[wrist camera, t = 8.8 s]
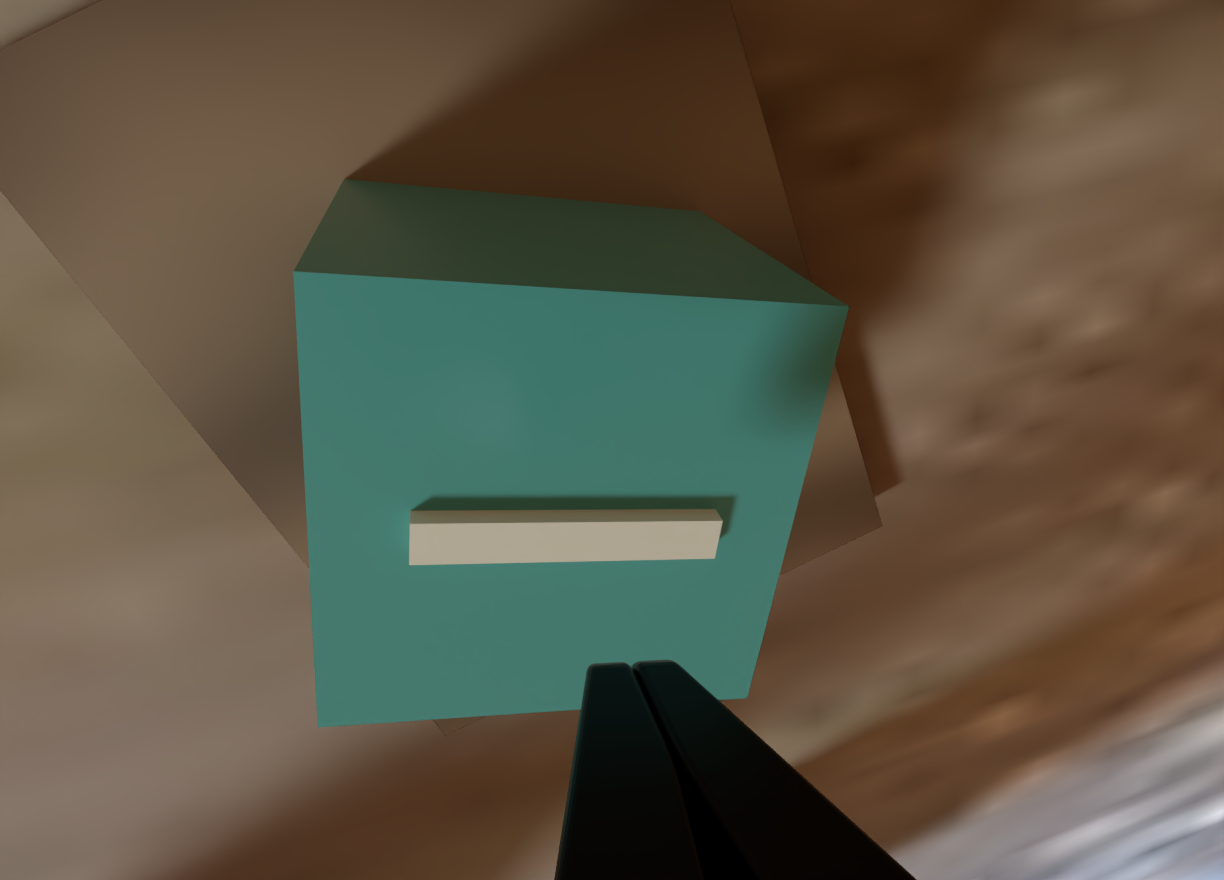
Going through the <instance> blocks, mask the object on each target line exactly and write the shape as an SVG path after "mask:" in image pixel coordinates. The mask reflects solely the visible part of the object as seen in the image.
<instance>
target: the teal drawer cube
mask: <svg viewBox="0 0 1224 880" xmlns="http://www.w3.org/2000/svg"><path fill="white" fill-rule="evenodd" d="M293 275H294V294H295V312H296V331H297V350H298V368H299V387H300V405H301V424H302V443H303V461H304V480H305V499H306V517H307V536H308V555H309V573H310V592H311V610H312V629H313V648H314V666H315V685H316V704H317V722H318V727H330V726H345V725H360V724H374V723H389V722H404V721H418V720H433V719H448V718H462V717H477V716H492V715H507V714H521V713H536V712H551V711H565V710H580V709H581V704H582V697H583V691H584V684H585V678H586V672H587V668H588V667H589V665H591V664H594V663H611V662H625V663H627V664H628V665H630V666H632V665H633V664H634V663H636V662H637V661H647V660H666V659H668V660H673V661H674V662H676V663H678V664H679V665H680V666H681V667H683V668H684V669H685V670H686V671H687V672H688V673H689V674H690V675H691V676H692V677H694V678H695V679H696V680H697V681H698V682H699V683H700V684H701V685H702V686H703V687H705V688H706V689H707V690H708V691H709V692H710V693H711V694H712V695H713V696H715V697H716V698H717V699H718V700H727V699H742V698H747V697H748V693H749V689H750V685H751V681H752V678H753V674H754V670H755V666H756V662H757V658H758V655H759V651H760V647H761V643H762V639H763V635H764V632H765V628H766V624H767V620H768V616H769V612H770V609H771V605H772V601H773V597H774V593H775V589H776V586H777V582H778V578H779V574H780V570H781V566H782V563H783V559H784V555H785V551H786V547H787V543H788V540H789V536H790V532H791V528H792V524H793V520H794V516H795V513H796V509H797V505H798V501H799V497H800V493H801V490H802V486H803V482H804V478H805V474H806V470H807V467H808V463H809V459H810V455H811V451H812V447H813V444H814V440H815V436H816V432H817V428H818V424H819V421H820V417H821V413H822V409H823V405H824V401H825V398H826V394H827V390H828V386H829V382H830V378H831V375H832V371H833V367H834V363H835V359H836V355H837V352H838V348H839V344H840V340H841V336H842V332H843V329H844V325H845V321H846V317H847V313H848V309H849V306H847V305H846V304H844V303H843V302H841V301H840V300H838V299H836V298H835V297H833V296H832V295H830V294H829V293H827V292H826V291H824V290H822V289H821V288H819V287H818V286H816V285H815V284H813V283H811V282H810V281H808V280H807V279H805V278H804V277H802V276H800V275H799V274H797V273H796V272H794V271H793V270H791V269H789V268H788V267H786V266H785V265H783V264H782V263H780V262H778V261H777V260H775V259H774V258H772V257H771V256H769V255H768V254H766V253H764V252H763V251H761V250H760V249H758V248H757V247H755V246H753V245H752V244H750V243H749V242H747V241H746V240H744V239H742V238H741V237H739V236H738V235H736V234H735V233H733V232H731V231H730V230H728V229H727V228H725V227H724V226H722V225H720V224H719V223H717V222H716V221H714V220H713V219H711V218H709V217H708V216H706V215H705V214H703V213H702V212H700V211H690V210H679V209H668V208H657V207H646V206H635V205H624V204H613V203H602V202H591V201H580V200H570V199H559V198H548V197H537V196H526V195H515V194H504V193H493V192H482V191H471V190H460V189H449V188H438V187H427V186H416V185H405V184H394V183H383V182H372V181H361V180H351V179H344V180H343V182H342V184H341V186H340V187H339V189H338V191H337V193H336V195H335V196H334V198H333V200H332V202H331V204H330V206H329V207H328V209H327V211H326V213H325V215H324V216H323V218H322V220H321V222H320V224H319V226H318V227H317V229H316V231H315V233H314V235H313V236H312V238H311V240H310V242H309V244H308V246H307V247H306V249H305V251H304V253H303V255H302V256H301V258H300V260H299V262H298V264H297V266H296V267H295V269H294V271H293Z"/></svg>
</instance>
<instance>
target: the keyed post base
mask: <svg viewBox="0 0 1224 880" xmlns="http://www.w3.org/2000/svg"><path fill="white" fill-rule="evenodd" d="M344 179H351V180H361V181H372V182H383V183H394V184H405V185H416V186H427V187H438V188H449V189H460V190H471V191H482V192H493V193H504V194H515V195H526V196H537V197H548V198H559V199H570V200H580V201H591V202H602V203H613V204H624V205H635V206H646V207H657V208H668V209H679V210H690V211H700V212H702V213H703V214H705V215H706V216H708V217H709V218H711V219H713V220H714V221H716V222H717V223H719V224H720V225H722V226H724V227H725V228H727V229H728V230H730V231H731V232H733V233H735V234H736V235H738V236H739V237H741V238H742V239H744V240H746V241H747V242H749V243H750V244H752V245H753V246H755V247H757V248H758V249H760V250H761V251H763V252H764V253H766V254H768V255H769V256H771V257H772V258H774V259H775V260H777V261H778V262H780V263H782V264H783V265H785V266H786V267H788V268H789V269H791V270H793V271H794V272H796V273H797V274H799V275H800V276H802V277H804V278H805V279H807V280H808V281H810V282H811V279H810V275H809V272H808V268H807V265H806V261H805V258H804V255H803V251H802V248H801V244H800V241H799V237H798V234H797V230H796V227H795V224H794V220H793V217H792V213H791V210H790V206H789V203H788V200H787V196H786V193H785V189H784V186H783V182H782V179H781V175H780V172H779V169H778V165H777V162H776V158H775V155H774V151H773V148H772V144H771V141H770V138H769V134H768V131H767V127H766V124H765V120H764V117H763V114H762V110H761V107H760V103H759V100H758V96H757V93H756V89H755V86H754V83H753V79H752V76H751V72H750V69H749V65H748V62H747V58H746V55H745V52H744V48H743V45H742V41H741V38H740V34H739V31H738V28H737V24H736V21H735V17H734V14H733V10H732V7H731V3H730V0H101V1H99V2H97V3H95V4H93V5H91V6H89V7H87V8H85V9H83V10H81V11H79V12H77V13H75V14H73V15H70V16H68V17H66V18H64V19H62V20H60V21H58V22H56V23H54V24H52V25H50V26H48V27H46V28H44V29H42V30H40V31H38V32H36V33H34V34H32V35H30V36H28V37H26V38H24V39H22V40H20V41H17V42H15V43H13V44H11V45H9V46H7V47H5V48H3V49H1V50H0V191H1V192H2V193H3V194H4V196H5V197H6V198H7V199H8V200H9V202H10V203H11V204H12V205H13V207H14V208H15V209H16V210H17V211H18V213H19V214H20V215H21V216H22V218H23V219H24V220H25V221H26V223H27V224H28V225H29V226H30V227H31V229H32V230H33V231H34V232H35V234H36V235H37V236H38V237H39V238H40V240H41V241H42V242H43V243H44V245H45V246H46V247H47V248H48V249H49V251H50V252H51V253H52V254H53V256H54V257H55V258H56V259H57V260H58V262H59V263H60V264H61V265H62V267H63V268H64V269H65V270H66V271H67V273H68V274H69V275H70V276H71V278H72V279H73V280H74V281H75V283H76V284H77V285H78V286H79V287H80V289H81V290H82V291H83V292H84V294H85V295H86V296H87V297H88V298H89V300H90V301H91V302H92V303H93V305H94V306H95V307H96V308H97V309H98V311H99V312H100V313H101V314H102V316H103V317H104V318H105V319H106V320H107V322H108V323H109V324H110V325H111V327H112V328H113V329H114V330H115V332H116V333H117V334H118V335H119V336H120V338H121V339H122V340H123V341H124V343H125V344H126V345H127V346H128V347H129V349H130V350H131V351H132V352H133V354H134V355H135V356H136V357H137V358H138V360H139V361H140V362H141V363H142V365H143V366H144V367H145V368H146V369H147V371H148V372H149V373H150V374H151V376H152V377H153V378H154V379H155V381H156V382H157V383H158V384H159V385H160V387H161V388H162V389H163V390H164V392H165V393H166V394H167V395H168V396H169V398H170V399H171V400H172V401H173V403H174V404H175V405H176V406H177V407H178V409H179V410H180V411H181V412H182V414H183V415H184V416H185V417H186V418H187V420H188V421H189V422H190V423H191V425H192V426H193V427H194V428H195V429H196V431H197V432H198V433H199V434H200V436H201V437H202V438H203V439H204V441H205V442H206V443H207V444H208V445H209V447H210V448H211V449H212V450H213V452H214V453H215V454H216V455H217V456H218V458H219V459H220V460H221V461H222V463H223V464H224V465H225V466H226V467H227V469H228V470H229V471H230V472H231V474H232V475H233V476H234V477H235V478H236V480H237V481H238V482H239V483H240V485H241V486H242V487H243V488H244V490H245V491H246V492H247V493H248V494H249V496H250V497H251V498H252V499H253V501H254V502H255V503H256V504H257V505H258V507H259V508H260V509H261V510H262V512H263V513H264V514H265V515H266V516H267V518H268V519H269V520H270V521H271V523H272V524H273V525H274V526H275V527H276V529H277V530H278V531H279V532H280V534H281V535H282V536H283V537H284V538H285V540H286V541H287V542H288V543H289V545H290V546H291V547H292V548H293V550H294V551H295V552H296V553H297V554H298V556H299V557H300V558H301V559H302V561H303V562H304V563H305V564H306V565H307V567H308V568H309V555H308V536H307V517H306V499H305V480H304V461H303V443H302V424H301V405H300V387H299V368H298V350H297V331H296V312H295V294H294V275H293V271H294V269H295V267H296V266H297V264H298V262H299V260H300V258H301V256H302V255H303V253H304V251H305V249H306V247H307V246H308V244H309V242H310V240H311V238H312V236H313V235H314V233H315V231H316V229H317V227H318V226H319V224H320V222H321V220H322V218H323V216H324V215H325V213H326V211H327V209H328V207H329V206H330V204H331V202H332V200H333V198H334V196H335V195H336V193H337V191H338V189H339V187H340V186H341V184H342V182H343V180H344ZM811 283H812V282H811ZM881 526H882V523H881V519H880V516H879V512H878V509H877V506H876V502H875V499H874V495H873V492H872V488H871V485H870V482H869V478H868V475H867V471H866V468H865V464H864V461H863V457H862V454H861V451H860V447H859V444H858V440H857V437H856V433H855V430H854V427H853V423H852V420H851V416H850V413H849V409H848V406H847V402H846V399H845V396H844V392H843V389H842V385H841V382H840V378H839V375H838V371H837V368H836V365H835V363H834V367H833V371H832V375H831V378H830V382H829V386H828V390H827V394H826V398H825V401H824V405H823V409H822V413H821V417H820V421H819V424H818V428H817V432H816V436H815V440H814V444H813V447H812V451H811V455H810V459H809V463H808V467H807V470H806V474H805V478H804V482H803V486H802V490H801V493H800V497H799V501H798V505H797V509H796V513H795V516H794V520H793V524H792V528H791V532H790V536H789V540H788V543H787V547H786V551H785V555H784V559H783V563H782V566H781V570H780V574H779V575H781V574H783V573H785V572H787V571H790V570H792V569H794V568H796V567H798V566H800V565H802V564H804V563H806V562H808V561H810V560H812V559H815V558H817V557H819V556H821V555H823V554H825V553H827V552H829V551H831V550H833V549H835V548H837V547H840V546H842V545H844V544H846V543H848V542H850V541H852V540H854V539H856V538H858V537H860V536H862V535H865V534H867V533H869V532H871V531H873V530H875V529H877V528H879V527H881ZM484 717H486V716H477V717H462V718H448V719H433V721H434V722H435V723H436V725H437V726H438V727H439V728H440V730H441V731H442V732H443V733H444V734H445V736H446V735H448V734H450V733H452V732H454V731H456V730H459V729H461V728H463V727H465V726H467V725H469V724H471V723H473V722H475V721H477V720H479V719H481V718H484Z"/></svg>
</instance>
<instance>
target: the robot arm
mask: <svg viewBox="0 0 1224 880" xmlns="http://www.w3.org/2000/svg"><path fill="white" fill-rule="evenodd" d="M554 880H916V879H915V878H914V877H913V876H912V875H911V874H910V873H909V872H908V871H907V870H905V869H904V868H903V867H902V866H901V865H900V864H899V863H898V862H897V861H895V860H894V859H893V858H892V857H891V856H890V855H889V854H888V853H887V852H886V851H884V850H883V849H882V848H881V847H880V846H879V845H878V844H877V843H876V842H875V841H873V840H872V839H871V838H870V837H869V836H868V835H867V834H866V833H865V832H863V831H862V830H861V829H860V828H859V827H858V826H857V825H856V824H855V823H854V822H852V821H851V820H850V819H849V818H848V817H847V816H846V815H845V814H844V813H843V812H841V811H840V810H839V809H838V808H837V807H836V806H835V805H834V804H833V803H831V802H830V801H829V800H828V799H827V798H826V797H825V796H824V795H823V794H822V793H820V792H819V791H818V790H817V789H816V788H815V787H814V786H813V785H812V784H811V783H809V782H808V781H807V780H806V779H805V778H804V777H803V776H802V775H801V774H799V773H798V772H797V771H796V770H795V769H794V768H793V767H792V766H791V765H790V764H788V763H787V762H786V761H785V760H784V759H783V758H782V757H781V756H780V755H779V754H777V753H776V752H775V751H774V750H773V749H772V748H771V747H770V746H769V745H767V744H766V743H765V742H764V741H763V740H762V739H761V738H760V737H759V736H758V735H756V734H755V733H754V732H753V731H752V730H751V729H750V728H749V727H748V726H747V725H745V724H744V723H743V722H742V721H741V720H740V719H739V718H738V717H737V716H735V715H734V714H733V713H732V712H731V711H730V710H729V709H728V708H727V707H726V706H724V705H723V704H722V703H721V702H720V701H719V700H718V699H717V698H716V697H715V696H713V695H712V694H711V693H710V692H709V691H708V690H707V689H706V688H705V687H703V686H702V685H701V684H700V683H699V682H698V681H697V680H696V679H695V678H694V677H692V676H691V675H690V674H689V673H688V672H687V671H686V670H685V669H684V668H683V667H681V666H680V665H679V664H678V663H676V662H674V661H673V660H668V659H666V660H647V661H637V662H636V663H634V664H633V665H632V666H630V665H628V664H627V663H625V662H611V663H594V664H591V665H589V667H588V668H587V672H586V678H585V684H584V691H583V697H582V704H581V710H580V717H579V723H578V730H577V736H576V743H575V749H574V756H573V762H572V769H571V775H570V781H569V788H568V794H567V801H566V807H565V814H564V820H563V827H562V833H561V840H560V846H559V853H558V859H557V866H556V872H555V879H554Z"/></svg>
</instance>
